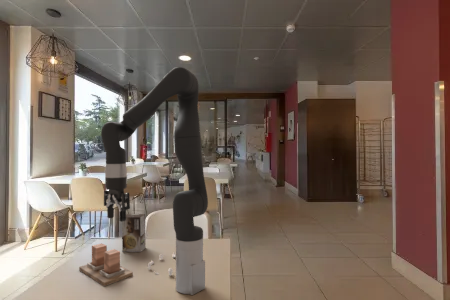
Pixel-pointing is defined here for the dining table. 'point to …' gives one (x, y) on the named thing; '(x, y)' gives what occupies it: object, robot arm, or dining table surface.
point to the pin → (111, 261)
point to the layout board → (102, 267)
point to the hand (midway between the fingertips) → (116, 219)
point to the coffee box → (133, 233)
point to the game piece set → (162, 259)
